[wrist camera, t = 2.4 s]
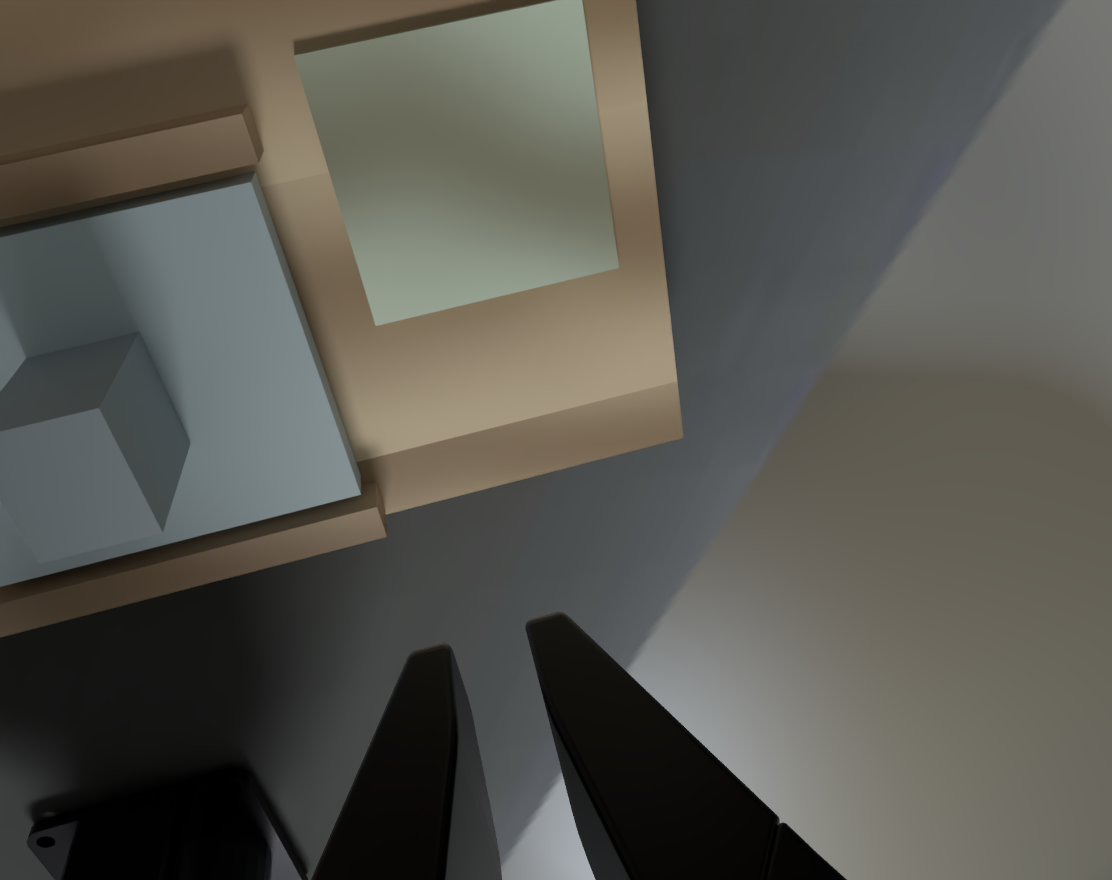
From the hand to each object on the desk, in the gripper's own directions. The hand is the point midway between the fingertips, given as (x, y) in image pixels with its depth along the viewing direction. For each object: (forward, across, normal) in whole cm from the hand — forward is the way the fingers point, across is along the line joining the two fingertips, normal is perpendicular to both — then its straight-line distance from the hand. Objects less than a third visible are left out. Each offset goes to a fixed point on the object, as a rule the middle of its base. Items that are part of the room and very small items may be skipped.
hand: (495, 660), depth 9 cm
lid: (+10, +6, 0) cm, 12 cm away
